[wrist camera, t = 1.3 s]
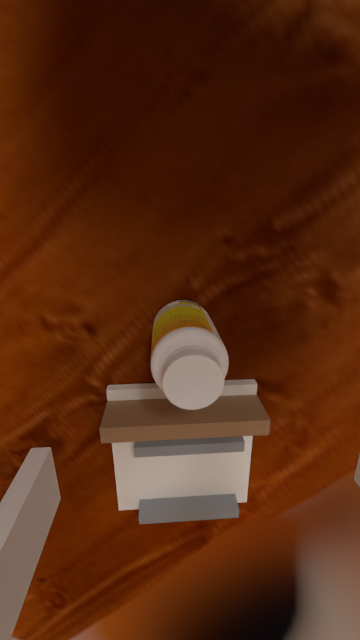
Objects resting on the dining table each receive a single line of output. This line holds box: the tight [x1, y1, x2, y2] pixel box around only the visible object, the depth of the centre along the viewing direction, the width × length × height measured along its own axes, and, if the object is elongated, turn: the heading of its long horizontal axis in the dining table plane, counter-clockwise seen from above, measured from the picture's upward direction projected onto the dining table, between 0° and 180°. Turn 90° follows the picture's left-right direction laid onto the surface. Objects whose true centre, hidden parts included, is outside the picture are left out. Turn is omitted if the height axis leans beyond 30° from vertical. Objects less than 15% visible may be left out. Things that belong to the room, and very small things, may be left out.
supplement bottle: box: [151, 300, 229, 410], centre depth 23 cm, size 6×6×10 cm
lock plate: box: [99, 379, 271, 524], centre depth 30 cm, size 16×15×5 cm
